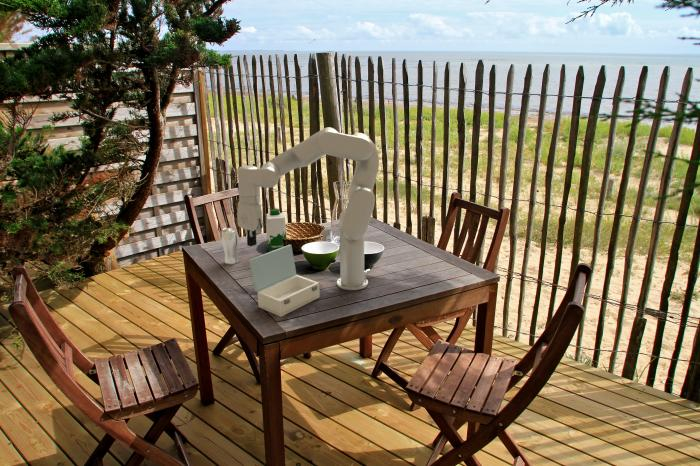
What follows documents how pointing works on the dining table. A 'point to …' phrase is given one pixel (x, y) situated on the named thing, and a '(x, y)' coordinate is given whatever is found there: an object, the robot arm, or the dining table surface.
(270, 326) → the dining table surface
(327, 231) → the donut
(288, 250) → the lid
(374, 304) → the dining table surface
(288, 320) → the dining table surface
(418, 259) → the dining table surface
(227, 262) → the beer glass
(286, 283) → the box
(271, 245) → the milk carton
